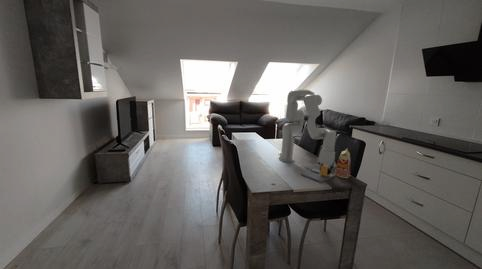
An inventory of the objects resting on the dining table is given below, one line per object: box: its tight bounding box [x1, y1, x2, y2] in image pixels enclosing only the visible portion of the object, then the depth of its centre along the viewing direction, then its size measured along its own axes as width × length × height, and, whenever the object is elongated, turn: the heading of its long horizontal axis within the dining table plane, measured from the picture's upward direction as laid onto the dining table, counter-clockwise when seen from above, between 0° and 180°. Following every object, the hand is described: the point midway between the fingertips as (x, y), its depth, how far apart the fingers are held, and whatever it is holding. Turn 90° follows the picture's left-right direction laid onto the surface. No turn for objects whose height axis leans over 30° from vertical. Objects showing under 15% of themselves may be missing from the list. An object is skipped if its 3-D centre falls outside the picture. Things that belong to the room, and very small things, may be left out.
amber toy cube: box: [319, 164, 330, 176], centre depth 160 cm, size 5×5×6 cm
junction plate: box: [300, 167, 336, 184], centre depth 162 cm, size 16×18×6 cm
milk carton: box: [333, 148, 351, 179], centre depth 164 cm, size 9×9×20 cm
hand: (325, 172), depth 161 cm, fingers closed on amber toy cube, 5 cm apart
